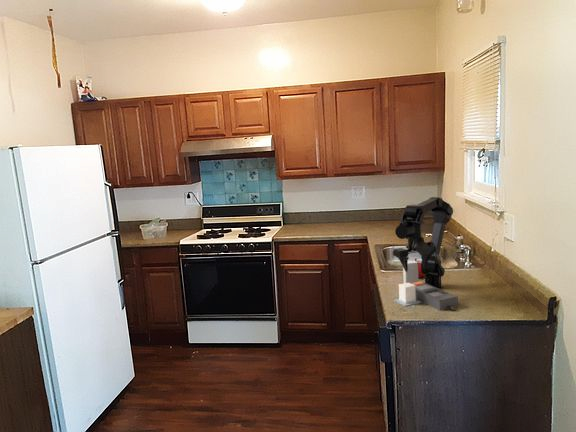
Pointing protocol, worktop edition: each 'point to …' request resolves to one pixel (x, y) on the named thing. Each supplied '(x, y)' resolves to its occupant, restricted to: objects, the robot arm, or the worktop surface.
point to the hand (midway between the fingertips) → (415, 269)
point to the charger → (407, 293)
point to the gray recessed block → (435, 296)
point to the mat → (407, 303)
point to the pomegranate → (419, 270)
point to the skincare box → (411, 272)
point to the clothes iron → (427, 225)
